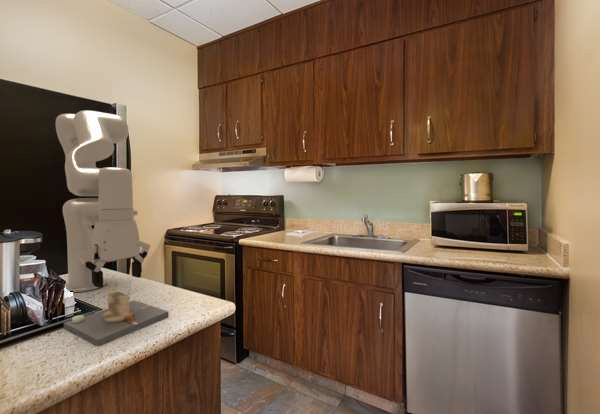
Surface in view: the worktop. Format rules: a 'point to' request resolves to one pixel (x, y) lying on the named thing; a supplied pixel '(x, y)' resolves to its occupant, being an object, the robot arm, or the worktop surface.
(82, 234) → the robot arm
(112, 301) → the levelling knob
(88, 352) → the worktop surface
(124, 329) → the base plate
